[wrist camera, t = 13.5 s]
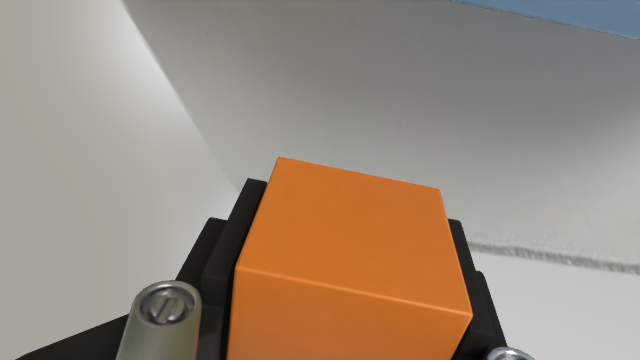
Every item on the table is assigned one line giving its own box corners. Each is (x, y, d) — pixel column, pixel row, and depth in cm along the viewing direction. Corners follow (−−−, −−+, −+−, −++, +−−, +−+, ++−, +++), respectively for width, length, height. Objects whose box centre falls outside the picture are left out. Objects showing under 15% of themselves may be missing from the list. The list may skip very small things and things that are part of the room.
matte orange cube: (261, 276, 14) (220, 408, 10) (278, 155, 12) (233, 267, 8) (396, 303, 14) (407, 445, 10) (440, 188, 12) (475, 315, 8)
